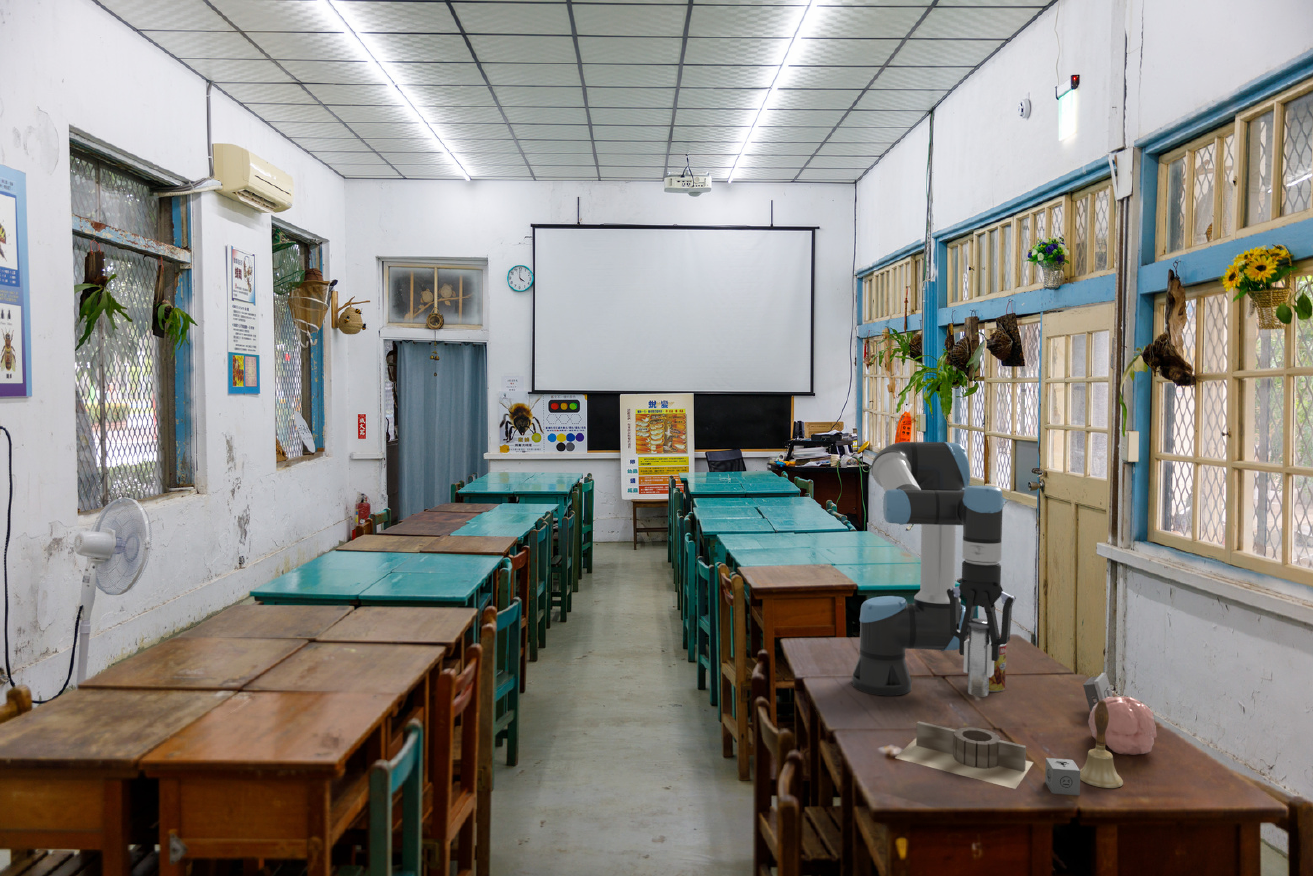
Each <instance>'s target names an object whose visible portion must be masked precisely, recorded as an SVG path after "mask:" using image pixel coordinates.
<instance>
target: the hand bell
mask: <svg viewBox="0 0 1313 876" xmlns="http://www.w3.org/2000/svg"><path fill="white" fill-rule="evenodd" d="M1094 719H1095V725H1096V729H1097V737H1096V739H1095V748H1092V749H1091V748H1090V749H1089V750H1088V752H1087V757H1086V761H1085V764H1084V765H1083V767H1082V768H1081V769H1080V782H1083V783H1085V784H1087V785H1091V786H1094V787H1096V788H1097V787H1099V788H1103V789H1104V788H1105V789H1116V788H1119V787H1122V786H1123V785H1124V780H1123V779H1122V777H1121V776H1120V775H1119V774H1118V773H1117V770H1116V768H1115V765H1114V764H1115V763H1114V756H1113V754H1112V753H1111V752H1110V751H1108V750H1106V745H1105V732H1106V729H1107V726H1108V722H1109V713H1108V709H1107V706H1106V702H1105V701H1103V700H1099V701H1098V705H1097V707H1096V709H1095V715H1094Z"/></svg>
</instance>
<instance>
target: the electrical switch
mask: <svg viewBox="0 0 1313 876" xmlns="http://www.w3.org/2000/svg"><path fill="white" fill-rule="evenodd" d="M1109 681H1110V680H1109V677H1108V675H1107V673H1106V672H1101V673H1100V675H1097V676H1090V677H1088V678H1087V680H1086V681H1085V682H1084V683H1083V686H1082V687H1083V690H1084V694H1085V697H1086V701H1087V705H1088V709H1089V713H1090V712H1091V711H1092V709H1093V707H1094V706H1095V705H1096V704H1097V703H1098V701H1099V700H1103V699H1105V698H1107V697H1114V696H1113V691H1112V688H1111V684H1110V682H1109Z"/></svg>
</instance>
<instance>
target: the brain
mask: <svg viewBox="0 0 1313 876" xmlns="http://www.w3.org/2000/svg"><path fill="white" fill-rule="evenodd" d="M1103 701H1105V702H1106V706H1107V709H1108V713H1109V722H1108V726H1107V729H1106V732H1105V746H1107V747H1108V748H1109V749H1110V750H1112V752H1113V753H1117V754H1119V755H1130V756H1136V755H1144V754H1148V753H1150V752H1151V751H1152V749H1153V748H1152V747H1153V746H1154V743H1155V738H1157V737H1158V734H1157V726H1156V723H1155V719H1154V717H1155V714H1154V712H1153V711H1152V710H1151V708H1150V707H1149V706H1147V705H1146V704H1145V703H1142V702H1141V701H1139V700H1138V699H1136V698H1134V697H1132V696H1129V697H1128V696H1126V695H1125V696H1124V695H1123V696H1113V697H1107V698H1105V699H1103ZM1097 705H1098V703H1097V704H1095V706H1094V707H1093V709H1092V711H1091V712H1090V711H1089V716H1088V726H1089V729H1090V730H1091V736H1092V738H1094V739H1095V740H1096V737H1097V729H1096V725H1095V719H1094V715H1095V709H1096V707H1097Z"/></svg>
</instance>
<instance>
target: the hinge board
mask: <svg viewBox="0 0 1313 876" xmlns="http://www.w3.org/2000/svg"><path fill="white" fill-rule="evenodd" d="M1001 739H1002V738H1001V737H1000V736H999V735H998V734H997V733H995V732H994V731H991V730H988V729H984V728H980V727H971V726H970V727H968V726H967V727H960V728H957V729H954V728H950V727H945V726H941V725H937V724H932V723H927V722H924V721H917V722H916V733H915V738H914V739H913V740H912V741H911V742H910V743H908V744H907V745H906V747H904V748H903V749H902V750H901V751H900V752H899V753H898V754H897V755H896V756H895V757H894V759H897V760H902V761H905V762H909V763H913V764H917V765H919V766H923V767H928V768H932V769H935V770H939V771H944V772H947V773H951V774H955V775H958V776H959V775H960V776H963V777H966V778H971V779H975V780H979V781H982V782H986V783H990V784H994V785H999V786H1001V787H1005V788H1009V789H1013V790H1017V788H1018V787H1019V785H1020V783H1021V782H1022V781H1023V779H1024V778H1025V776H1026V775H1027V774H1028V771H1029V770H1030V769H1031V767H1032V766H1033V764H1034V762H1033V761H1030V760H1026V758H1027V745H1023V744H1019V743H1016V742H1015V743H1014V742H1011V741H1006V740H1003V739H1002V740H1001Z"/></svg>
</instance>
